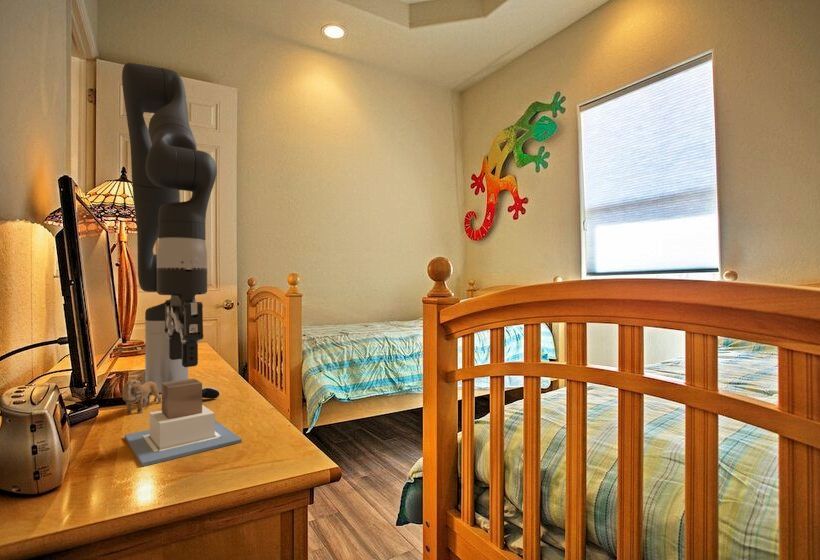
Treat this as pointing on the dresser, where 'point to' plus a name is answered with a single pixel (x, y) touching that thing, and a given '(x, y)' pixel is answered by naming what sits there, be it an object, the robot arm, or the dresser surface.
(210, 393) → the game controller
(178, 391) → the walnut cube
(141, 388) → the lion figurine
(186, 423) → the base slab
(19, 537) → the dresser surface
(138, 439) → the board
